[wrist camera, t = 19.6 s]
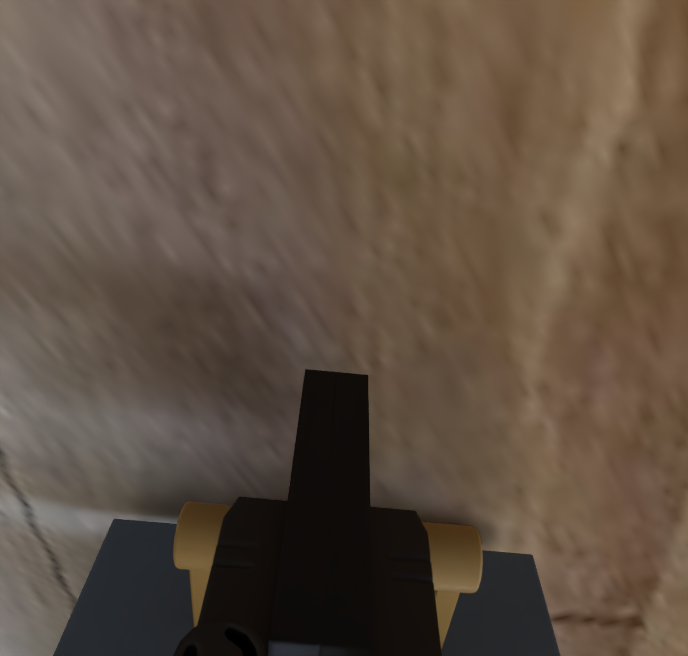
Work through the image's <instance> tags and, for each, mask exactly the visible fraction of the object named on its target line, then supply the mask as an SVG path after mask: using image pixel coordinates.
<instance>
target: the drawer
mask: <svg viewBox="0 0 688 656" xmlns="http://www.w3.org/2000/svg"><path fill="white" fill-rule="evenodd" d="M231 507H232V505H223V504H212V503H200V502H187V503H185V505H184V506H183V508H182V510H181V513H180V516H179V519H178V523H177V524H169V523H158V522H146V521H134V520H123V519H114V520H113V521H112V524H111V526H110V528H109V531H108V533H107V535H106V537H105V540H104V542H103V544H102V546H101V549H100V551H99V553H98V555H97V558H96V560H95V562H94V564H93V567H92V569H91V571H90V574H89V576H88V578H87V580H86V583H85V585H84V587H83V589H82V592H81V594H80V596H79V598H78V601H77V603H76V605H75V608H74V610H73V612H72V614H71V617H70V619H69V621H68V623H67V626H66V628H65V630H64V632H63V635H62V637H61V639H60V641H59V644H58V646H57V648H56V651H55V653H54V655H53V656H173V655H174V653H175V651H176V648H177V646H178V644H179V642H180V641H181V640H182V639H183V638H184V637H185V636H186V635H187V634H188V633H189V632H190V631H191V630H192V629H193V628H194V627H196V626H197V624H198V620H199V616H200V612H201V608H202V604H203V599H204V595H205V591H206V587H207V583H208V579H209V575H210V571H211V567H212V565H213V559H214V554H215V550H216V546H217V544H218V538H219V534H220V530H221V526H222V522H223V518H224V516H225V514H226V513H227V512H228V511H229V509H230V508H231ZM422 524H423V525H424V527H425V529H426V531H427V532H428V539H429V547H430V556H431V558H430V562H431V565H432V574H433V583H434V591H435V600H436V609H437V617H438V626H439V635H440V643H441V652H442V656H560V653H559V649H558V645H557V642H556V638H555V635H554V631H553V627H552V624H551V620H550V616H549V613H548V609H547V605H546V602H545V598H544V595H543V591H542V587H541V584H540V580H539V576H538V573H537V569H536V565H535V562H534V558H533V555H530V554H518V553H506V552H495V551H483V550H482V544H481V539H480V535H479V532H478V530H477V529H476V528H475V527H473V526H465V525H453V524H442V523H430V522H422Z"/></svg>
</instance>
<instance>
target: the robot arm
mask: <svg viewBox="0 0 688 656" xmlns="http://www.w3.org/2000/svg"><path fill="white" fill-rule="evenodd" d="M430 558H431V556H430V547H429V539H428V532H427V531H426V529H425V527H424V525H423V524H422V522H421V520H420V518H419V517H418V515H417V513H416V511H413V510H401V509H390V508H379V507H370V464H369V401H368V375H361V374H351V373H340V372H329V371H319V370H308V369H305V376H304V383H303V390H302V398H301V405H300V413H299V420H298V427H297V435H296V442H295V450H294V457H293V465H292V472H291V479H290V487H289V494H288V501H282V500H271V499H259V498H248V497H239V498H238V499H237V500H236V502H235V503H234V504H233V505H232V507H231V508H230V509H229V511H228V512H227V513H226V514H225V516H224V518H223V522H222V526H221V530H220V534H219V538H218V544H217V546H216V550H215V554H214V559H213V565H212V567H211V571H210V575H209V579H208V583H207V587H206V591H205V595H204V599H203V604H202V608H201V612H200V616H199V620H198V624H197V626H196V627H194V628H193V629H192V630H191V631H190V632H189V633H188V634H187V635H186V636H185V637H184V638H183V639H182V640H181V641H180V642H179V644H178V646H177V648H176V651H175V653H174V655H173V656H442V652H441V643H440V635H439V626H438V617H437V609H436V600H435V591H434V583H433V574H432V565H431V562H430Z"/></svg>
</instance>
